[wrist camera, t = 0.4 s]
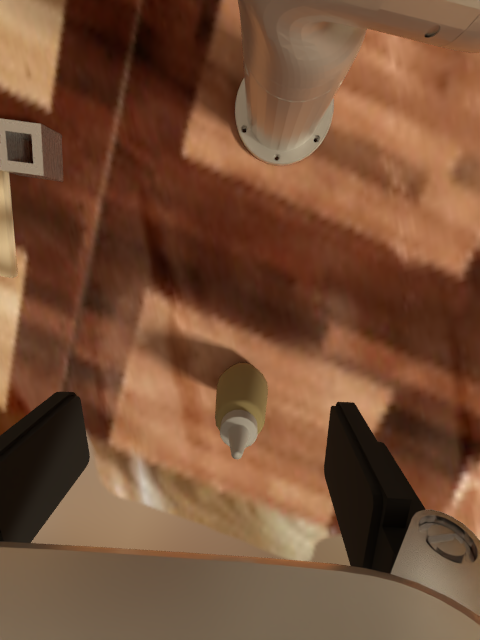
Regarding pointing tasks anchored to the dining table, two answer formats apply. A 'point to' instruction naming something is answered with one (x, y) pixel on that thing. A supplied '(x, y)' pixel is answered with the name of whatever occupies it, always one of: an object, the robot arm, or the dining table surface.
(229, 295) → the dining table surface
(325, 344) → the dining table surface
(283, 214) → the dining table surface
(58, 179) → the link
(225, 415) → the squeeze bottle
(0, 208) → the peg board
